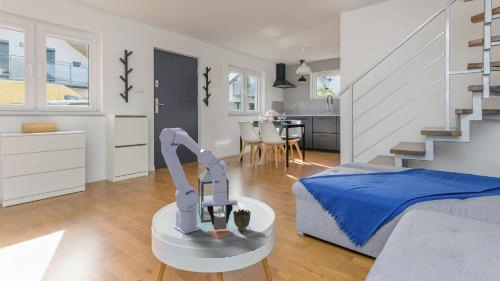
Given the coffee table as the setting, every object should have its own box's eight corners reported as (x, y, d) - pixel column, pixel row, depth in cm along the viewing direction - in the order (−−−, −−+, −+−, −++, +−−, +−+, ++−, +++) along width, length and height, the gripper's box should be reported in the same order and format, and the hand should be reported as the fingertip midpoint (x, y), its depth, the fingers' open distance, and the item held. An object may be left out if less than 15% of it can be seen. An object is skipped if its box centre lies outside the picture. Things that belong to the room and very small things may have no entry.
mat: (206, 233, 117) (206, 231, 117) (222, 228, 122) (222, 227, 122) (217, 239, 111) (217, 237, 111) (233, 233, 116) (233, 232, 116)
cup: (239, 235, 114) (239, 215, 114) (229, 229, 120) (229, 211, 120) (254, 231, 119) (254, 212, 118) (244, 225, 125) (244, 208, 124)
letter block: (214, 229, 114) (213, 217, 113) (213, 225, 118) (213, 213, 118) (226, 228, 115) (226, 216, 114) (225, 224, 119) (224, 212, 119)
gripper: (235, 187, 121) (235, 218, 121) (201, 189, 117) (201, 221, 118) (238, 191, 114) (238, 224, 115) (201, 193, 111) (202, 227, 111)
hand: (219, 223), depth 116 cm, fingers closed on letter block, 5 cm apart
